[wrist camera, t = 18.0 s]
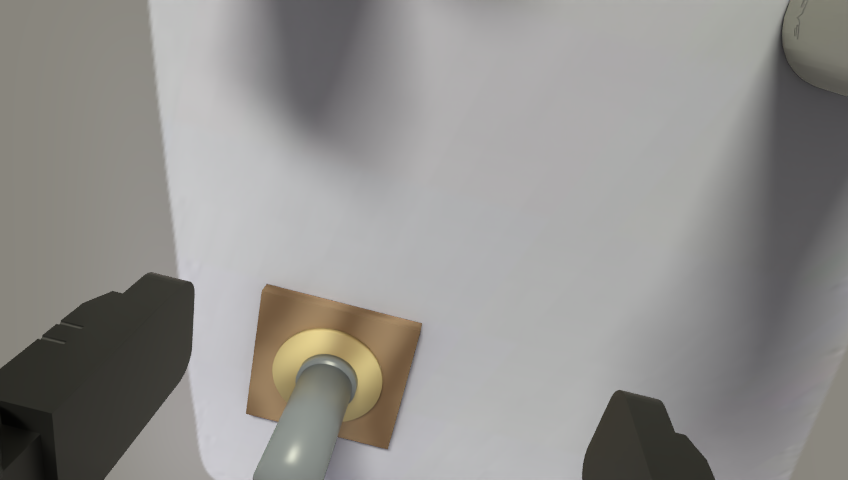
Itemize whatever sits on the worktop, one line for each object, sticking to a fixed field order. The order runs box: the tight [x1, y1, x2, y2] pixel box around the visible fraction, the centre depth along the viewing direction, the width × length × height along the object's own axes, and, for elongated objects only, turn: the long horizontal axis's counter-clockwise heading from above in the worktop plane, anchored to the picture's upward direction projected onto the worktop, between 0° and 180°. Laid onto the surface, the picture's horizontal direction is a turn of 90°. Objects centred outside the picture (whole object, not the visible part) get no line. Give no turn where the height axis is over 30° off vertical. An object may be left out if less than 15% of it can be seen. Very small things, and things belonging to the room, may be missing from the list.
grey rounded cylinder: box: [253, 354, 358, 480], centre depth 46 cm, size 5×5×12 cm
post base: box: [246, 284, 422, 449], centre depth 52 cm, size 14×14×2 cm
